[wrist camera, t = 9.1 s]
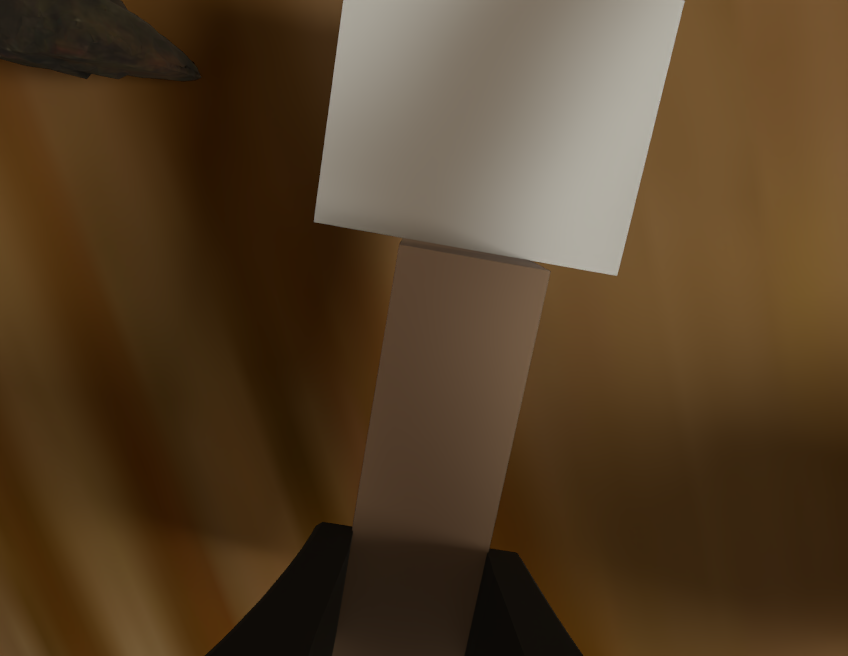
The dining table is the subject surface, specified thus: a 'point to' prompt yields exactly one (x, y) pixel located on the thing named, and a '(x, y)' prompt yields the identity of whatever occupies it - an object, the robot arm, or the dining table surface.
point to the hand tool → (88, 40)
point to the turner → (471, 258)
